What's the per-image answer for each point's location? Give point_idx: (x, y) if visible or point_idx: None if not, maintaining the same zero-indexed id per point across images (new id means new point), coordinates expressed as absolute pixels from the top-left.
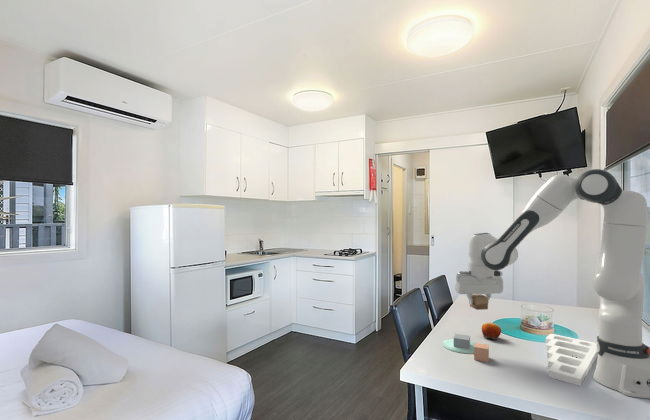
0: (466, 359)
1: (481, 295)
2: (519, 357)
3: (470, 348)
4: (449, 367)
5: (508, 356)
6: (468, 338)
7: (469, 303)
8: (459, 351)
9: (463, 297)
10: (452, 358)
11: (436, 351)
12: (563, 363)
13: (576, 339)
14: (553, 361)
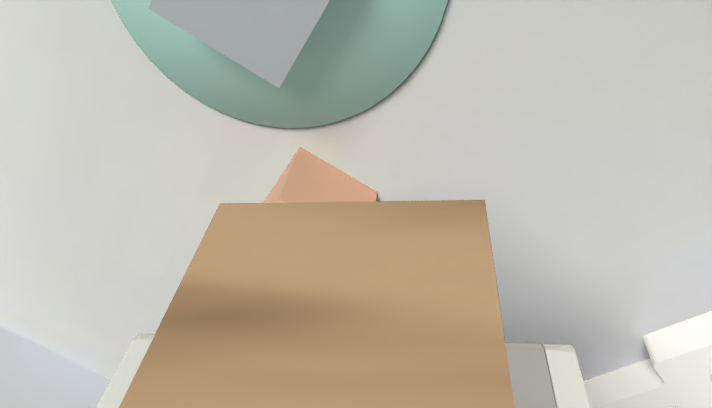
0: (212, 198)
1: None
2: (594, 221)
3: (316, 45)
4: (87, 265)
5: (529, 198)
6: (295, 43)
7: (144, 344)
8: (201, 92)
9: None
10: (126, 174)
11: (29, 52)
12: (706, 398)
13: None
14: (677, 375)
